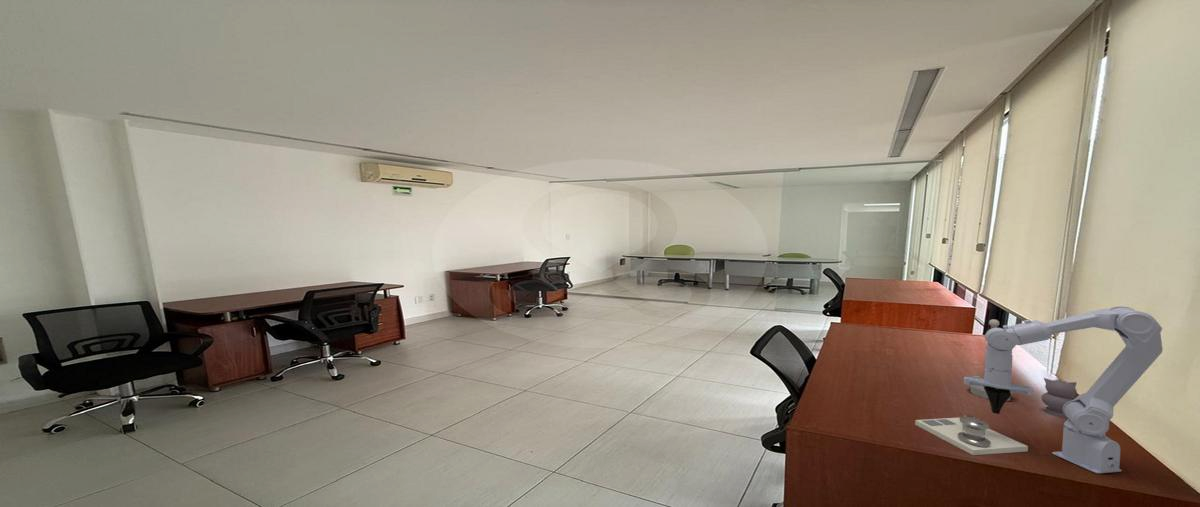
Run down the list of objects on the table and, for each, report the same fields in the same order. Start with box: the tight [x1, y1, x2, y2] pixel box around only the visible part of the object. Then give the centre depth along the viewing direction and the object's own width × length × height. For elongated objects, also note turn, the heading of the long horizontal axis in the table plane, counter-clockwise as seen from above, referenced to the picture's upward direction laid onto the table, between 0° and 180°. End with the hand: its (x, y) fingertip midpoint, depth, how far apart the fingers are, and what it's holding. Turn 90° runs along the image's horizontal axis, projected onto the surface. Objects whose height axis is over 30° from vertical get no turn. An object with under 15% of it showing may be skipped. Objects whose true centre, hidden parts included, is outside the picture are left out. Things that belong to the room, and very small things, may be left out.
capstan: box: [958, 413, 991, 447], centre depth 120 cm, size 17×7×5 cm, turn 142°
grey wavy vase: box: [1040, 377, 1078, 419], centre depth 136 cm, size 8×8×12 cm
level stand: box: [914, 417, 1029, 456], centre depth 121 cm, size 18×18×2 cm
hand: (995, 412), depth 119 cm, fingers closed
